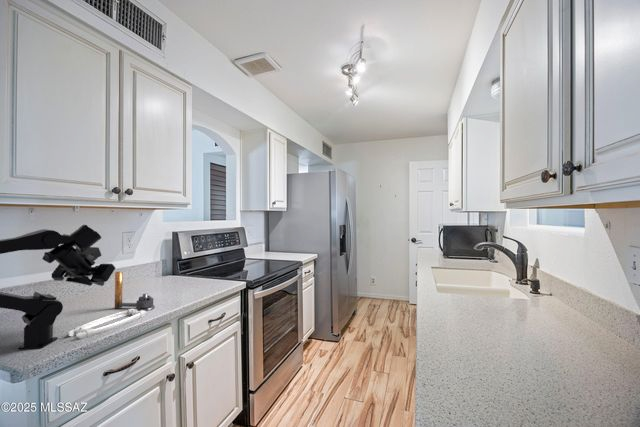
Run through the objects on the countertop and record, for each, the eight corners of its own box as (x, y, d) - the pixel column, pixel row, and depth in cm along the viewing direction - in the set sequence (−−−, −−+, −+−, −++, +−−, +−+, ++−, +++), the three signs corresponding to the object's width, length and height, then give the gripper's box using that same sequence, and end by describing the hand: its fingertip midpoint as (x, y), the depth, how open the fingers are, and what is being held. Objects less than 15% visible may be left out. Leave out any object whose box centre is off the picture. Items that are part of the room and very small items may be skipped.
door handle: (61, 338, 93) (133, 312, 117) (82, 343, 90) (151, 315, 114) (61, 329, 93) (133, 306, 117) (82, 334, 90) (151, 308, 114)
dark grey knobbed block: (150, 311, 118) (150, 296, 118) (131, 311, 117) (131, 296, 117) (157, 305, 125) (157, 291, 125) (140, 306, 124) (140, 292, 124)
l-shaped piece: (153, 305, 123) (153, 271, 123) (147, 309, 119) (147, 273, 119) (118, 305, 123) (119, 271, 123) (111, 309, 118) (111, 273, 118)
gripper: (111, 241, 100) (133, 266, 111) (59, 239, 101) (86, 265, 112) (92, 268, 92) (117, 293, 104) (36, 266, 93) (67, 291, 104)
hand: (97, 284), depth 106 cm, fingers open, 4 cm apart
